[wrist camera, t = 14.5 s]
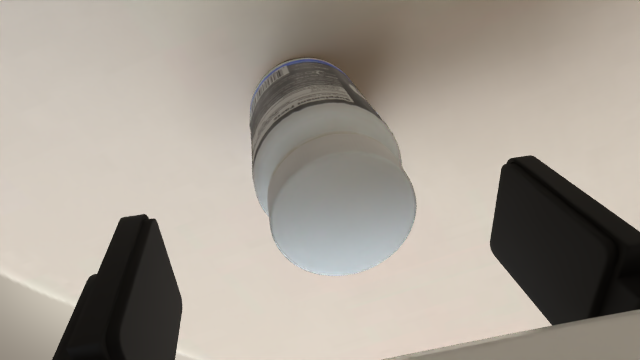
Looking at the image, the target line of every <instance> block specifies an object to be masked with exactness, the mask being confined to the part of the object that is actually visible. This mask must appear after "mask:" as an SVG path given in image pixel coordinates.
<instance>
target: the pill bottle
mask: <svg viewBox="0 0 640 360" xmlns="http://www.w3.org/2000/svg"><path fill="white" fill-rule="evenodd" d="M250 129H251V144H252V174H253V182H254V187H255V191H256V195H257V198H258V200H259V203H260V205H261V207H262V208H263V210H264V212H265V213H266V214H267V215H268V217H269V222H270V228H271V233H272V236H273V239H274V241H275V243H276V245H277V247H278V249H279V250H280V251H281V253H282V254H283V255H284V256H285V257H286V258H287V259H288V260H289V261H291V262H292V263H293V264H294V265H296V266H298V267H300V268H302V269H304V270H306V271H309V272H312V273H315V274H319V275H328V276H342V275H350V274H355V273H359V272H362V271H365V270H368V269H370V268H372V267H374V266H376V265H378V264H380V263H381V262H383V261H384V260H386V259H387V258H389V257H390V256H391V255H392V254H393V253H395V252H396V251H397V250H398V249H399V247H400V246H401V245H402V244H403V242H404V241H405V240H406V238H407V236H408V234H409V233H410V231H411V228H412V226H413V223H414V219H415V215H416V197H415V192H414V189H413V186H412V183H411V181H410V179H409V177H408V176H407V174H406V173H405V171H404V169H403V167H402V161H401V154H400V150H399V147H398V144H397V142H396V140H395V138H394V136H393V133H392V132H391V131H390V129H389V128H388V126H387V125H386V123H385V122H384V121H383V120H382V119H381V118H380V116H379V115H378V114H377V113H376V112H375V110H374V109H373V108H372V107H371V105H370V104H369V103H368V102H367V100H366V99H365V98H364V97H363V95H362V94H361V93H360V92H359V90H358V89H357V88H356V86H355V85H354V84H353V83H352V81H351V80H350V79H349V78H348V77H347V75H346V74H345V73H344V72H343V71H341V70H340V69H339V68H338V67H336V66H334V65H333V64H331V63H329V62H326V61H324V60H320V59H316V58H299V59H293V60H290V61H286V62H284V63H282V64H280V65H278V66H276V67H275V68H273V69H272V70H270V71H269V72H268V73H267V74H266V75H265V76H264V77H263V79H262V80H261V81H260V83H259V84H258V86H257V87H256V89H255V91H254V94H253V97H252V100H251V106H250Z"/></svg>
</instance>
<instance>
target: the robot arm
mask: <svg viewBox="0 0 640 360" xmlns="http://www.w3.org/2000/svg"><path fill="white" fill-rule="evenodd" d="M490 247H491V250H492V253H493V254H494V256H495V257H496V258H497V259H498V260H499V262H500V263H501V264H502V265H503V266H504V268H505V269H506V270H507V271H508V272H509V274H510V275H511V276H512V277H513V279H514V280H515V281H516V282H517V283H518V285H519V286H520V287H521V288H522V289H523V291H524V292H525V293H526V294H527V295H528V297H529V298H530V299H531V300H532V301H533V303H534V304H535V305H536V306H537V307H538V309H539V310H540V311H541V312H542V314H543V315H544V316H545V317H546V318H547V320H548V321H549V322H550V323H551V324H552V326H548V327H543V328H538V329H533V330H528V331H523V332H517V333H512V334H507V335H502V336H497V337H492V338H487V339H482V340H477V341H472V342H467V343H462V344H457V345H452V346H447V347H442V348H437V349H432V350H427V351H422V352H417V353H412V354H407V355H402V356H397V357H392V358H388V359H383V360H640V232H639V231H638V230H636V229H635V228H634V227H632V226H631V225H629V224H628V223H627V222H625V221H624V220H622V219H621V218H620V217H618V216H617V215H615V214H614V213H613V212H611V211H610V210H608V209H607V208H606V207H604V206H603V205H601V204H600V203H599V202H597V201H596V200H594V199H593V198H592V197H590V196H589V195H587V194H586V193H585V192H583V191H582V190H580V189H579V188H578V187H576V186H575V185H573V184H572V183H571V182H569V181H568V180H566V179H565V178H564V177H562V176H561V175H559V174H558V173H557V172H555V171H554V170H552V169H551V168H550V167H548V166H547V165H545V164H544V163H543V162H541V161H540V160H538V159H537V158H536V157H534V156H523V157H516V158H511V159H509V160H508V162H507V164H505V165H503V167H502V169H501V175H500V181H499V188H498V194H497V200H496V207H495V213H494V220H493V226H492V233H491V239H490ZM181 314H182V299H181V295H180V292H179V289H178V285H177V282H176V279H175V276H174V273H173V270H172V267H171V264H170V261H169V257H168V254H167V251H166V248H165V245H164V242H163V239H162V236H161V233H160V230H159V226H158V223H157V221H156V219H149V218H148V217H147V215H145V214H142V215H136V216H129V217H123V218H121V219H120V221H119V223H118V226H117V228H116V230H115V233H114V235H113V238H112V240H111V242H110V245H109V247H108V249H107V252H106V254H105V257H104V259H103V261H102V264H101V266H100V268H99V271H98V273H97V274H94V275H92V276H90V277H89V279H88V280H87V282H86V284H85V287H84V289H83V291H82V293H81V296H80V298H79V300H78V302H77V305H76V307H75V309H74V312H73V314H72V316H71V318H70V321H69V323H68V325H67V327H66V330H65V332H64V334H63V337H62V339H61V341H60V343H59V346H58V348H57V350H56V352H55V355H54V357H53V359H52V360H175V355H176V348H177V341H178V335H179V328H180V321H181Z"/></svg>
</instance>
